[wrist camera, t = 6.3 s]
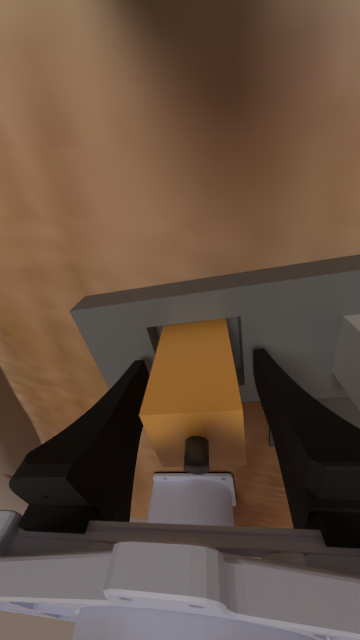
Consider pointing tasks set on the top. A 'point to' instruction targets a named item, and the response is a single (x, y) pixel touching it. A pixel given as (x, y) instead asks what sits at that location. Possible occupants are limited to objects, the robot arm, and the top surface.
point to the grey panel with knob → (243, 323)
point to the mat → (336, 411)
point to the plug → (195, 399)
